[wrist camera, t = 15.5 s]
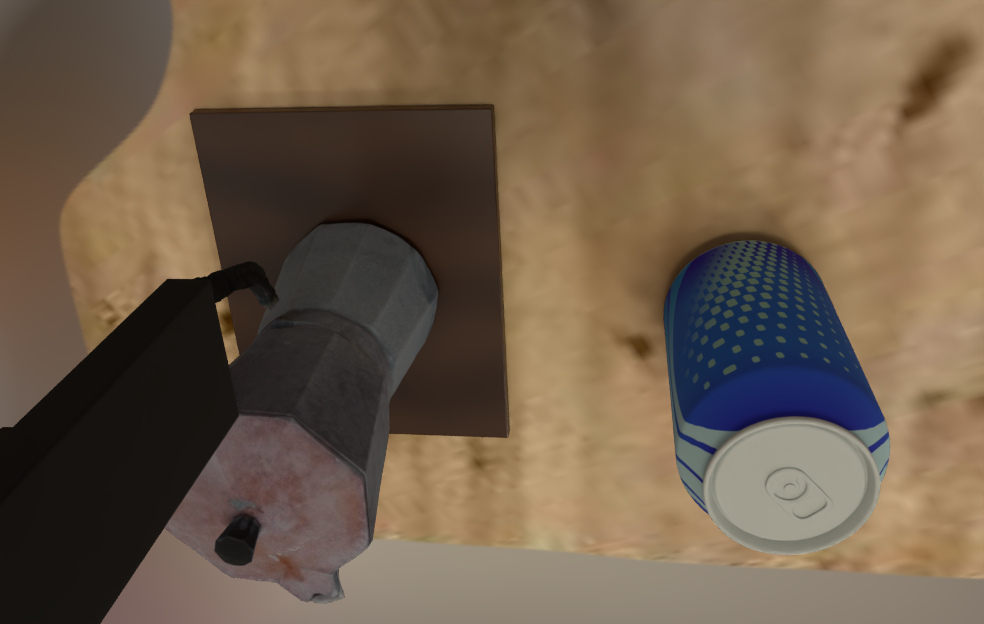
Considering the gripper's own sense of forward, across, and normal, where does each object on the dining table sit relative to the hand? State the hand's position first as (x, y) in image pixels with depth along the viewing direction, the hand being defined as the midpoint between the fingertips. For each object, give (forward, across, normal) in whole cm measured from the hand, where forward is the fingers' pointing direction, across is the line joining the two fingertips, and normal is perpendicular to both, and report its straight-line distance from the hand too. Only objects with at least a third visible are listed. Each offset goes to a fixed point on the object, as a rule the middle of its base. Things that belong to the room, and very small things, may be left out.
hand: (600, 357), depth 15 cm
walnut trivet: (+32, -14, -14) cm, 37 cm away
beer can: (+32, +7, -15) cm, 36 cm away
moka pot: (+31, -14, -14) cm, 37 cm away
